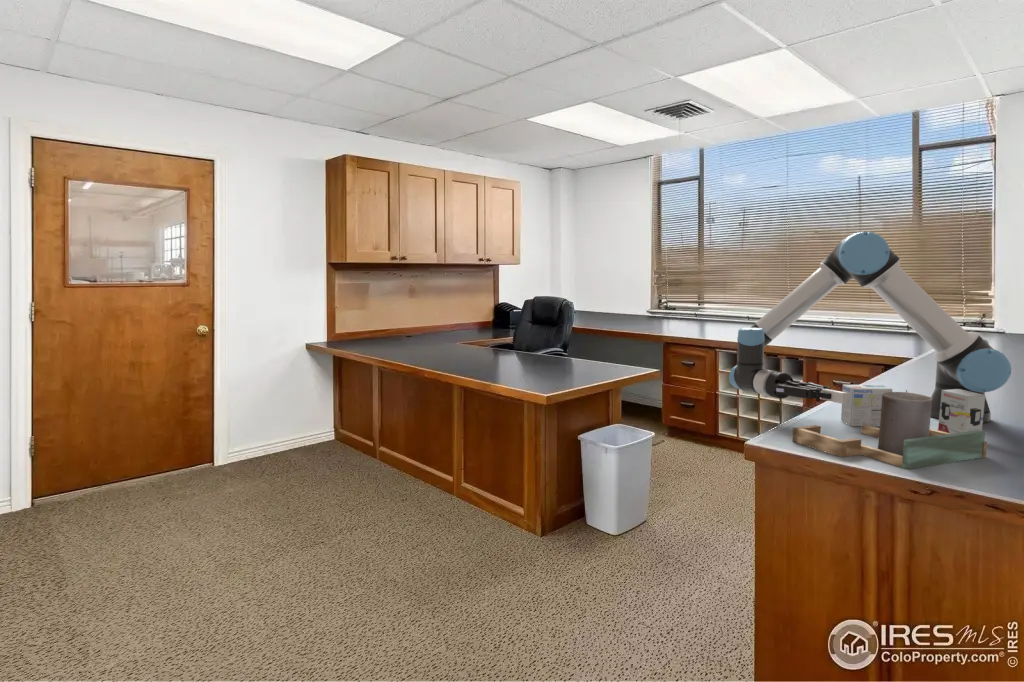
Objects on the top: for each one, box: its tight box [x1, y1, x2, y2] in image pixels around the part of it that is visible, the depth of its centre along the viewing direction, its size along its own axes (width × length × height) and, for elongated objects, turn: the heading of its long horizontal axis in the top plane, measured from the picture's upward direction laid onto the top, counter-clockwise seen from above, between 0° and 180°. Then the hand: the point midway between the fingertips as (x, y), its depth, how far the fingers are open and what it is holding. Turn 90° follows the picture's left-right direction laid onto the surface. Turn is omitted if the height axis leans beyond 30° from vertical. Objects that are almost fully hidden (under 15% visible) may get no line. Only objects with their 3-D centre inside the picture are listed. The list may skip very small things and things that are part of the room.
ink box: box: [937, 389, 986, 434], centre depth 152 cm, size 9×5×12 cm, turn 5°
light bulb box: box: [840, 384, 893, 428], centre depth 166 cm, size 11×7×11 cm, turn 84°
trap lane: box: [791, 424, 988, 470], centre depth 142 cm, size 26×31×6 cm
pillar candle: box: [877, 390, 932, 456], centre depth 137 cm, size 10×10×15 cm
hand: (844, 398), depth 151 cm, fingers closed
